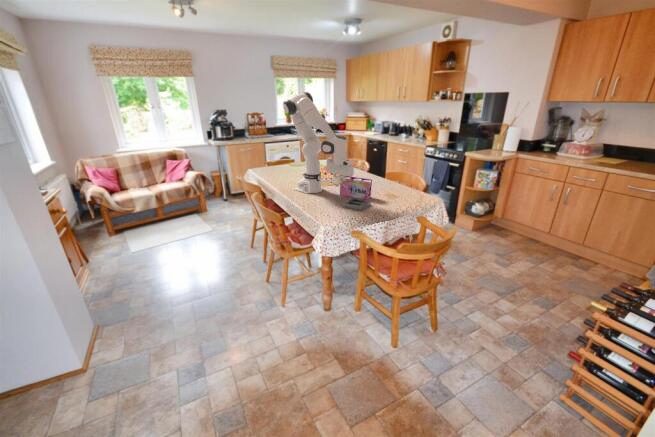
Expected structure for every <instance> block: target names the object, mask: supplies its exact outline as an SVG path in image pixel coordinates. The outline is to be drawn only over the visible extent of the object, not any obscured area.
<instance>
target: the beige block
mask: <svg viewBox="0 0 655 437" xmlns="http://www.w3.org/2000/svg"><path fill="white" fill-rule="evenodd" d="M342 178H343V175H336V177H334V176H333V177H332V184H334V186H335V187H340V184H343V182H342V181H341V179H342ZM345 179H346V177H345V178H344V181H345Z"/></svg>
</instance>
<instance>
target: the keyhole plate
mask: <svg viewBox="0 0 655 437" xmlns="http://www.w3.org/2000/svg"><path fill="white" fill-rule="evenodd" d="M371 202H372V201H371V200H365V199H359V198H354V197H351V198H350V199H348V200H347V201H345V202H344V203H343V204H342V207H343V208H346V209H350V210H354V211H358V212H359V211H360V212H362V211H364V210H365V209H367V208H368V207H369V206H371Z"/></svg>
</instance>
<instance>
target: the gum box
mask: <svg viewBox="0 0 655 437" xmlns="http://www.w3.org/2000/svg"><path fill="white" fill-rule="evenodd" d="M372 185H373V179H371V178H365V177H364V178H363V177H357V176H351V177H349V176H346V179H345V181H343V184H339V196H343V197H347V198H349V197H350V198H356V199H361V200H366V201H368V200H369V199H370V198H371V197H372Z"/></svg>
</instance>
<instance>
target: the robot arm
mask: <svg viewBox="0 0 655 437" xmlns="http://www.w3.org/2000/svg"><path fill="white" fill-rule="evenodd" d="M282 107H283V111H284V112H285V114H286V115H289V116H291V119H292V123H293V126H294V127H295V130H296V132H297V134H298V136H299V138H300V139H301V140H302V141H303V143H304V144H303V146H302V147H301V153H302V155H303V157H304V161H305V162H304V163H305V172H304V174H303V176H304V177H303V178H301V179H300V180H299V181H298V182H297V186H296V187H295V188H294V190H295V191H298V192H300V193H302V194H303V193H304V194H316V193H321V192H323V188H322V182H321V179H322V174H321V162H320V159H319V153H320V152H322V153H323V154H325V155H332V156H333V159H330V158H328V159H327V160H326V166H325V172H326V174H327V173H328V174H329V173H330V174H332V176H333V178H334V177H337V176H339V175H343V178H342V179H341V181H342V182H343V181H344V178H345V177H346V176H349V177H354V174H355V168H354V161H353V160H351V159H349V158H348V156H347V151H348V140H347V138H346V137H345V136H344V135H340V134H339V135H337V134H336V133H335V131H334V130H333V129H332V127H331V126H330V124H329V123H328V121H327V120H326V119H325V118H324V117H323V116H322V114H321V113H320V112H319V110H318V108H317V106H316V105H315V104H314V98H313V96H312V95H311V93H310V92H308V91H307V92H306V91H304V92H302V93H298V94H295V95H294V96H292V97H290V98H287V99H286V100H284V101H283V102H282ZM313 128H316V129H318V130H321V132H322V133H323V134H324V136H325V137H326V138H327V139H326V140H323V141H321V140H320V139H319V137H318V136H317V134H316V133H315V131H314V129H313Z"/></svg>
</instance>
